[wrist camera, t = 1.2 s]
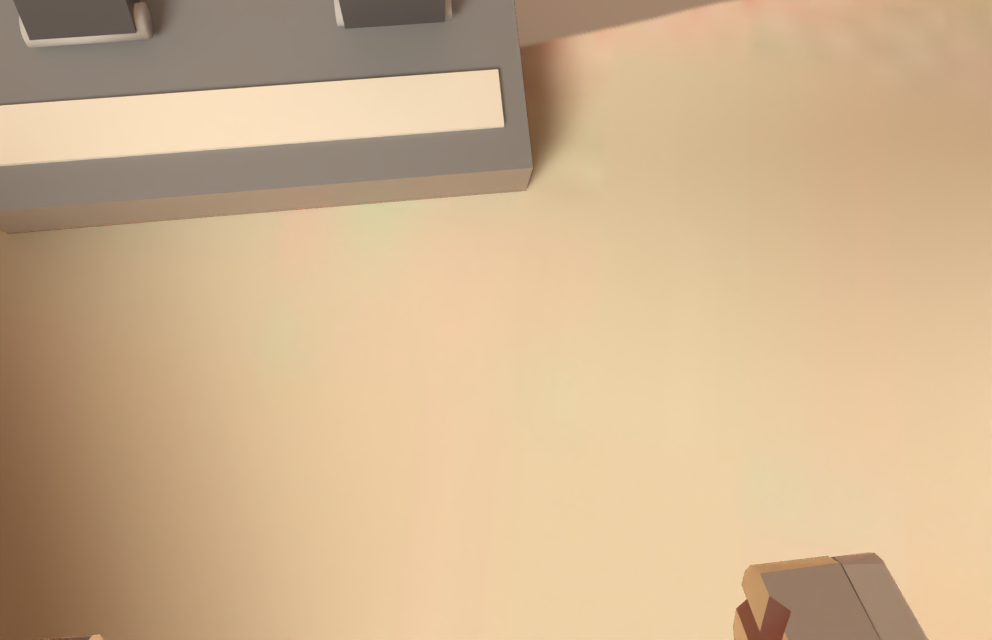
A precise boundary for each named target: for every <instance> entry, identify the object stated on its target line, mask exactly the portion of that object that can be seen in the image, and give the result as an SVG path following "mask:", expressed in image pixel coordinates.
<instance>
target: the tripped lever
mask: <svg viewBox="0 0 992 640" xmlns="http://www.w3.org/2000/svg"><path fill="white" fill-rule="evenodd" d="M334 7H335V15H336V21H337V26H345V29H350V28H365V27H379V26H394V25H408V24H423V23H437V22H445V19H452V5H451V0H334Z"/></svg>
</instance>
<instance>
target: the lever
mask: <svg viewBox="0 0 992 640" xmlns="http://www.w3.org/2000/svg"><path fill="white" fill-rule="evenodd" d="M13 1H14V4H15V6H16V8H17V11H18V13H19V25H20V31H21V34H22V37H23V39H24V41H25V43H26V44H27V46H28V47H30V48H33V47H48V46H62V45H77V44H91V43H106V42H120V41H135V40H149V39H152V36H153V26H152V20H151V15H150V12H149V9H148V6H147V5H146V3H145V2H140V0H13Z"/></svg>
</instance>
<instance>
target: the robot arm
mask: <svg viewBox="0 0 992 640" xmlns="http://www.w3.org/2000/svg"><path fill="white" fill-rule="evenodd" d="M742 587H743V590H744V592H745V595H746V598H747V600H745V601H744V602H743V603H742V604H741V605H740V606H739V607H737V608H736V613H735V619H734V625H733V631H734V640H928V638H927V636H926V635H925V633H924V631H923V629H922V628H921V626H920V624H919V622H918V621H917V619H916V617H915V615H914V614H913V612H912V610H911V608H910V607H909V605H908V603H907V602H906V600H905V598H904V596H903V595H902V593H901V591H900V589H899V588H898V586H897V584H896V582H895V581H894V579H893V577H892V575H891V574H890V572H889V570H888V568H887V567H886V565H885V563H884V561H883V560H882V559H881V558H880V557H879V556H877V555H876V554H875V553H860V554H852V555H844V556H836V557H829V556H823V557H815V558H806V559H798V560H790V561H781V562H773V563H765V564H756V565H750V566H749V567H748V568H747V569H746V570H745V573H744V577H743V581H742ZM37 640H103V639H102V637H101V635H100V634H95V635H84V636H72V637H60V638H49V639H37Z"/></svg>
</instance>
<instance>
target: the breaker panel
mask: <svg viewBox="0 0 992 640" xmlns="http://www.w3.org/2000/svg"><path fill="white" fill-rule="evenodd" d="M140 2H145V3H146V5H147V6H148V9H149V12H150V15H151V20H152V26H153V36H152V39H149V40H135V41H120V42H106V43H91V44H77V45H62V46H48V47H33V48H30V47H28V46H27V44H26V43H25V41H24V39H23V37H22V34H21V31H20V25H19V13H18V11H17V8H16V6H15V4H14V1H13V0H0V229H1V230H2V231H4V232H6V233H20V232H32V231H44V230H56V229H68V228H80V227H92V226H104V225H116V224H128V223H140V222H152V221H164V220H177V219H189V218H201V217H213V216H225V215H237V214H249V213H261V212H273V211H285V210H297V209H309V208H321V207H333V206H345V205H357V204H369V203H382V202H394V201H406V200H418V199H430V198H442V197H454V196H466V195H478V194H490V193H502V192H514V191H526V189H527V185H528V182H529V179H530V176H531V173H532V170H533V163H532V154H531V145H530V136H529V127H528V118H527V109H526V100H525V91H524V82H523V74H522V65H521V56H520V47H519V38H518V29H517V20H516V11H515V3H514V0H451V5H452V19H445V22H437V23H423V24H408V25H394V26H379V27H365V28H350V29H345V26H337V21H336V15H335V7H334V0H140Z"/></svg>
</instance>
